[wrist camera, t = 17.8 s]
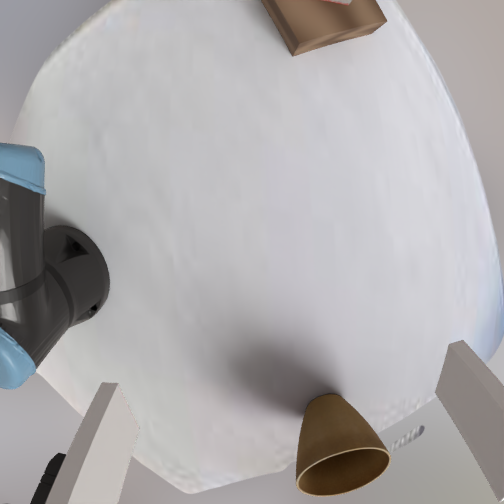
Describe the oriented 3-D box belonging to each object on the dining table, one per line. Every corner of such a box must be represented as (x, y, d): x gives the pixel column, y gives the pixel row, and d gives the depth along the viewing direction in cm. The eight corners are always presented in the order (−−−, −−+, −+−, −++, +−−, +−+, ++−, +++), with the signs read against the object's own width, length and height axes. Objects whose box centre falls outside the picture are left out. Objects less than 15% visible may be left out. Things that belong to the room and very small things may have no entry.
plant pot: (317, 440, 56) (329, 503, 40) (269, 408, 52) (275, 481, 37) (378, 402, 52) (405, 464, 37) (338, 364, 49) (364, 436, 34)
